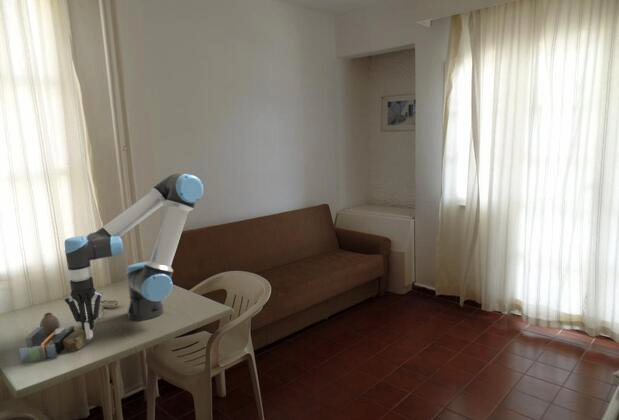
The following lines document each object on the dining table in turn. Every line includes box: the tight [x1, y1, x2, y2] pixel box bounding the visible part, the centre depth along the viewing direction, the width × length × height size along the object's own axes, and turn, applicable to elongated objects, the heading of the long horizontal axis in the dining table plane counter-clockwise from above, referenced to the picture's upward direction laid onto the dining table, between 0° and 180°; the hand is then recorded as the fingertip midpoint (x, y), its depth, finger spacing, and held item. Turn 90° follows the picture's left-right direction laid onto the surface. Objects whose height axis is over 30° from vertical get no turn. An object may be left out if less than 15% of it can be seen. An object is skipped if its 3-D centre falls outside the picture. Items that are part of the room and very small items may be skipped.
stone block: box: [63, 327, 94, 353], centre depth 163 cm, size 6×12×5 cm, turn 177°
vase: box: [39, 312, 61, 337], centre depth 174 cm, size 7×7×9 cm
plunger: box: [41, 325, 76, 358], centre depth 160 cm, size 4×18×6 cm, turn 8°
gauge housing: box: [18, 326, 58, 363], centre depth 159 cm, size 12×14×7 cm
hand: (89, 337), depth 163 cm, fingers closed
